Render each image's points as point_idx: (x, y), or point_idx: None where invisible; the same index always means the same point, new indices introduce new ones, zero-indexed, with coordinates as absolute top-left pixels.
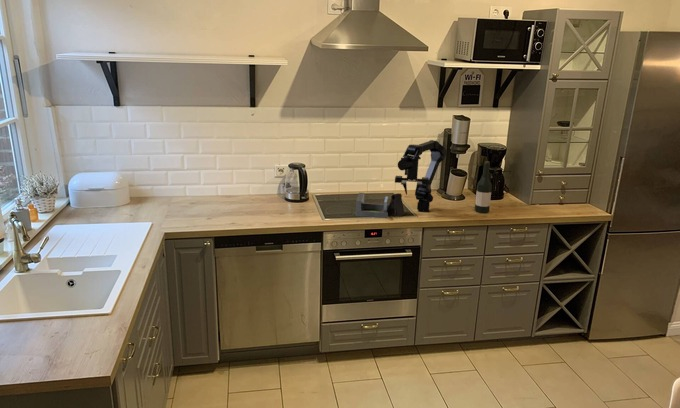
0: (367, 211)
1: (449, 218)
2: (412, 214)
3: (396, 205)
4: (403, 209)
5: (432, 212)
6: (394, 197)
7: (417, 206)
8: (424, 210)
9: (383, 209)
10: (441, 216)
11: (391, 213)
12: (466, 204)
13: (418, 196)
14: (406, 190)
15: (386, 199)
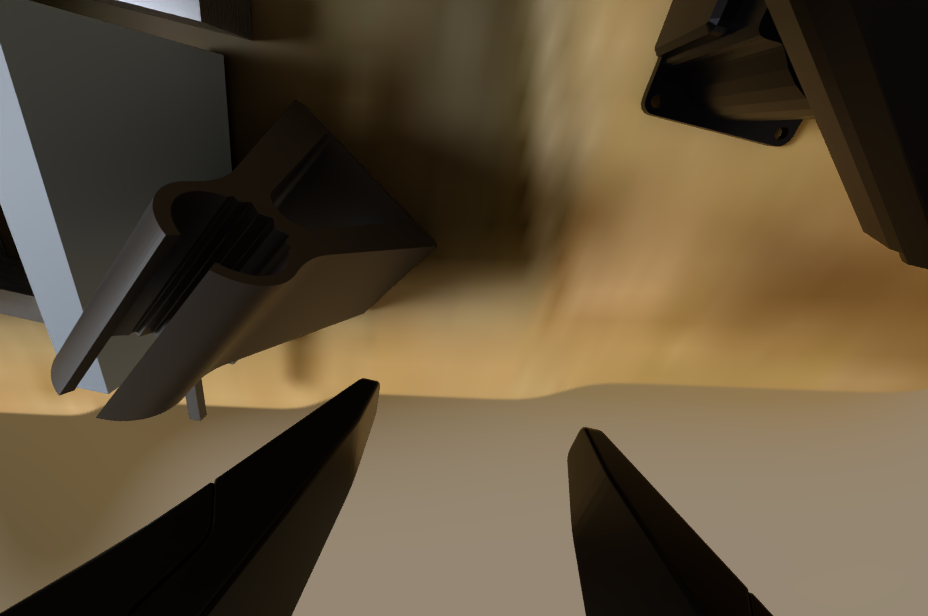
0: (16, 309)
1: (868, 355)
2: (527, 225)
3: (279, 343)
4: (406, 254)
5: (824, 143)
6: (153, 283)
7: (676, 39)
8: (734, 122)
9: (172, 19)
10: (828, 297)
11: (290, 210)
12: None
13: (793, 66)
14: (304, 570)
15: (47, 247)
